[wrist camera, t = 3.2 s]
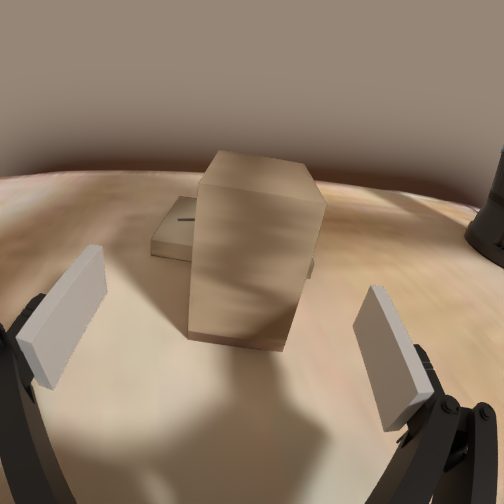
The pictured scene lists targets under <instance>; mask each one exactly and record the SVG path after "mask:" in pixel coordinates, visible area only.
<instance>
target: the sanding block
mask: <svg viewBox="0 0 504 504" xmlns="http://www.w3.org/2000/svg"><path fill="white" fill-rule="evenodd" d="M326 206H327V203H326V201H325V199H324V198H323V196H322V194H321V192H320V191H319V189H318V187H317V185H316V184H315V182H314V180H313V178H312V177H311V175H310V173H309V172H308V170H307V168H306V167H305V165H304V164H301V163H296V162H290V161H285V160H279V159H273V158H267V157H262V156H255V155H248V154H242V153H236V152H229V151H221V150H219V151H218V153H217V154H216V156H215V158H214V159H213V161H212V162H211V164H210V166H209V167H208V169H207V170H206V172H205V174H204V175H203V177H202V179H201V180H200V182H199V185H198V195H197V205H196V216H195V227H194V239H193V252H192V266H191V282H190V300H189V320H188V340H194V341H201V342H207V343H214V344H220V345H228V346H235V347H243V348H251V349H259V350H268V351H278V352H283V349H284V346H285V343H286V340H287V337H288V334H289V331H290V328H291V324H292V321H293V318H294V315H295V312H296V309H297V306H298V303H299V299H300V296H301V293H302V290H303V286H304V283H305V280H306V276H307V273H308V270H309V266H310V263H311V260H312V256H313V253H314V249H315V246H316V242H317V239H318V235H319V232H320V228H321V224H322V221H323V217H324V213H325V209H326Z"/></svg>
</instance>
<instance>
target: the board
mask: <svg viewBox="0 0 504 504" xmlns="http://www.w3.org/2000/svg"><path fill="white" fill-rule="evenodd" d="M196 205H197V198H190V197H182V196H179V198H178V199H177V201H176V202H175V204H174V205H173V207H172V208H171V210H170V211H169V213H168V214H167V216H166V217H165V219H164V220H163V222H162V223H161V225H160V226H159V228H158V229H157V231H156V233H155V234H154V236H153V237H152V239H151V255H154V256H161V257H167V258H173V259H180V260H186V261H192V252H193V239H194V227H195V216H196ZM313 267H314V261H313V258H312V260H311V263H310V266H309V270H308V273H307V276H306V278H310V277H311V273H312V270H313Z"/></svg>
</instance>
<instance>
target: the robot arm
mask: <svg viewBox="0 0 504 504" xmlns="http://www.w3.org/2000/svg"><path fill="white" fill-rule="evenodd" d="M501 153H502V154H501V158H500V161H499V165H498V168H497V171H496V175H495V178H494V181H493V184H492V187H491V190H490V193H489V196H488V198H487V201H486V203H485V204H484V205H483V207H482V208H481V209H480V211H479V212H478V214H477V215H476V217H475V219H474V220H473V221H471V222H470V223H469V225H468V227H467V230H466V232H465V238H466V239H467V241H468V242H469V243H470V244H471V245H472V246H473V247H474V248H475V249H477V250H478V251H479V252H480V253H482V254H483V255H484V256H486V257H487V258H489V259H490V260H492V261H493V262H495V263H497V264H498V265H500V266H502V267H504V146H503V149H502V150H501ZM107 292H108V291H107V283H106V275H105V266H104V256H103V246H98V245H92V244H89V245H88V246H87V247H86V248H85V249H84V250H83V252H82V253H81V254H80V255H79V256H78V257H77V258H76V260H75V261H74V262H73V263H72V264H71V265H70V267H69V268H68V269H67V270H66V271H65V273H64V274H63V275H62V276H61V278H60V279H59V280H58V281H57V282H56V284H55V285H54V286H53V287H52V289H51V290H50V291H49V293H48V294H47V295H46V294H42V293H40V294H39V295H37V296H36V297H34V298H33V299H31V301H30V302H29V303H28V304H27V306H26V307H25V309H23V311H22V312H21V315H19V316H18V317H17V319H16V320H15V321H14V323H13V324H12V325H11V327H10V328H9V330H8V331H7V332H5V330H4V328H3V325H2V324H1V323H0V458H1V462H2V465H3V469H4V472H5V475H6V478H7V481H8V484H9V487H10V490H11V493H12V496H13V498H14V501H15V504H77V503H76V501H75V499H74V497H73V495H72V493H71V491H70V489H69V487H68V484H67V482H66V480H65V478H64V476H63V473H62V471H61V469H60V466H59V464H58V462H57V459H56V457H55V454H54V452H53V449H52V446H51V444H50V441H49V438H48V435H47V433H46V430H45V427H44V424H43V421H42V417H41V414H40V411H39V408H38V404H37V401H36V397H35V394H34V390H33V387H32V385H31V381H32V379H33V377H35V379H36V381H37V383H38V384H39V385H40V386H43V387H45V388H48V389H51V390H53V391H54V389H55V387H56V385H57V383H58V381H59V379H60V377H61V375H62V373H63V371H64V369H65V367H66V365H67V363H68V361H69V359H70V357H71V356H72V354H73V352H74V350H75V348H76V346H77V344H78V343H79V341H80V339H81V337H82V335H83V333H84V332H85V330H86V328H87V326H88V325H89V323H90V321H91V319H92V318H93V316H94V314H95V312H96V311H97V309H98V307H99V305H100V304H101V302H102V300H103V299H104V297H105V295H106V294H107ZM353 329H354V332H355V335H356V338H357V341H358V344H359V348H360V351H361V354H362V357H363V360H364V364H365V367H366V370H367V373H368V377H369V380H370V383H371V387H372V390H373V394H374V397H375V401H376V404H377V408H378V412H379V415H380V419H381V423H382V426H383V430H384V432H390V431H398V430H400V429H401V428H402V427H403V426H404V425H405V424H406V423H407V426H408V430H407V431H406V432H405V433H404V434H403V435H402V436H401V437H400V438H399V439H398V440H397V442H396V443H399V442H400V441H401V442H400V444H399V446H398V448H397V450H396V452H395V454H394V455H393V457H392V459H391V461H390V463H389V464H388V466H387V468H386V470H385V472H384V473H383V475H382V477H381V478H380V480H379V482H378V483H377V485H376V487H375V488H374V490H373V491H372V493H371V494H370V496H369V498H368V499H367V501H366V502H365V504H429V502H430V500H431V498H432V495H433V498H432V503H431V504H496V495H497V477H498V440H497V421H496V414H495V411H494V410H493V408H492V407H491V406H490V405H489V404H487V403H485V402H480V403H478V404H477V405H476V406H475V407H474V408H473V409H470V408H465V407H460V404H459V403H458V401H457V400H456V399H455V398H454V397H452V396H450V395H445V393H444V390H443V388H442V386H441V384H440V381H439V379H438V377H437V375H436V373H435V371H434V370H433V366H432V364H431V363H430V360H429V358H428V356H427V354H426V352H425V351H424V350H423V349H422V348H421V346H420V345H419V344H413V343H412V341H411V339H410V337H409V335H408V333H407V331H406V329H405V327H404V325H403V323H402V321H401V319H400V317H399V315H398V313H397V311H396V309H395V307H394V305H393V303H392V301H391V299H390V297H389V295H388V293H387V292H386V290H385V288H384V286H376V285H370V288H369V290H368V292H367V295H366V297H365V299H364V302H363V304H362V306H361V308H360V311H359V313H358V315H357V317H356V319H355V322H354V324H353ZM467 448H468V449H467Z"/></svg>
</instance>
